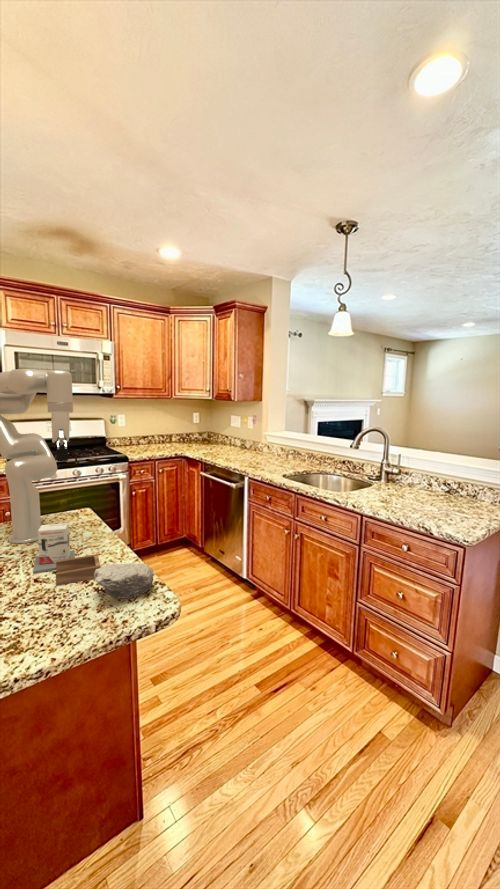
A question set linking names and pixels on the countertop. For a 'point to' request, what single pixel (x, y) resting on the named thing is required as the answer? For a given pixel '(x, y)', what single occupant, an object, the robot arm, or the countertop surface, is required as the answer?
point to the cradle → (76, 569)
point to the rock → (124, 579)
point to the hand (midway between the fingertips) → (62, 458)
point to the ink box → (53, 543)
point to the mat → (47, 567)
